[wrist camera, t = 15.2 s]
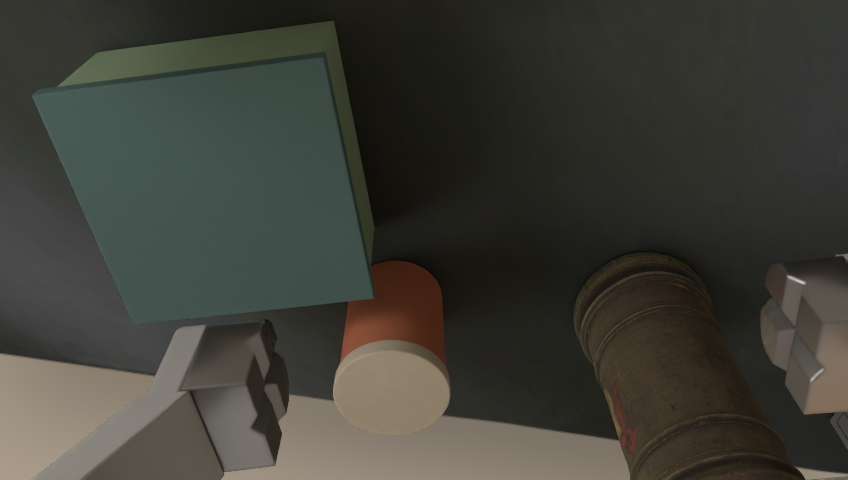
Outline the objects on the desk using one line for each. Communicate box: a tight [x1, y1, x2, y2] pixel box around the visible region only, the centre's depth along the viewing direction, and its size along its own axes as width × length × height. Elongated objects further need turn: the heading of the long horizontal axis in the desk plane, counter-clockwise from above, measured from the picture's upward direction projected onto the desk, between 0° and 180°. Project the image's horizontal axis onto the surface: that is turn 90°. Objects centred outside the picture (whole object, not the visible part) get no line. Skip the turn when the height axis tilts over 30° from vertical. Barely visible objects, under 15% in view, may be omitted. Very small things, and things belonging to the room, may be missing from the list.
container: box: [573, 252, 805, 480], centre depth 41 cm, size 9×9×18 cm
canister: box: [333, 261, 450, 436], centre depth 44 cm, size 7×7×9 cm
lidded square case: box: [32, 21, 375, 325], centre depth 39 cm, size 14×14×7 cm
